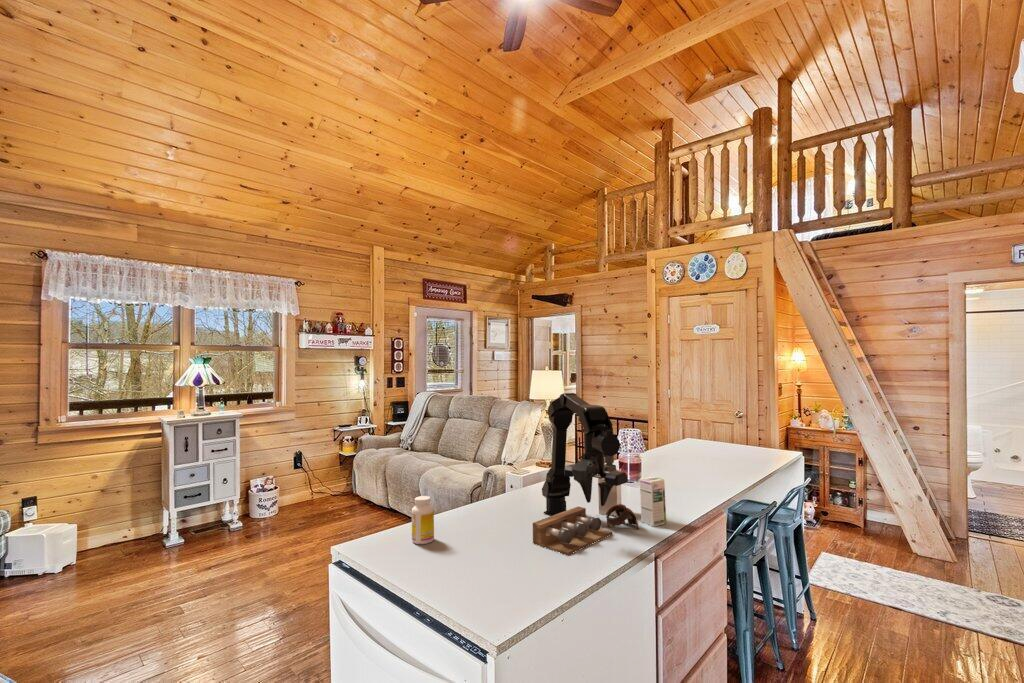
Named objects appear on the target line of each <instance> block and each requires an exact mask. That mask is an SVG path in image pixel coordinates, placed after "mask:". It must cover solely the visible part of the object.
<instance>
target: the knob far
mask: <svg viewBox="0 0 1024 683" xmlns="http://www.w3.org/2000/svg"><path fill="white" fill-rule="evenodd" d="M575 521H576V522H581V523H585V524H586V525H588V528H589V529H592V530H595V531H598V530H599V529H601V526H602V520H601V518H599V517H596V516H593V515H590V517H586V518H584V517H580V516H576V518H575Z"/></svg>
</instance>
